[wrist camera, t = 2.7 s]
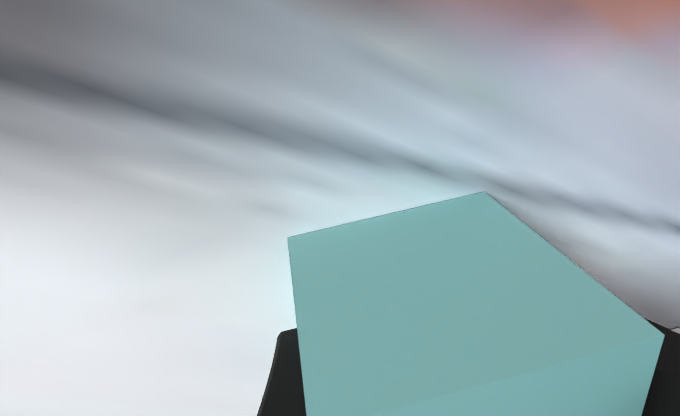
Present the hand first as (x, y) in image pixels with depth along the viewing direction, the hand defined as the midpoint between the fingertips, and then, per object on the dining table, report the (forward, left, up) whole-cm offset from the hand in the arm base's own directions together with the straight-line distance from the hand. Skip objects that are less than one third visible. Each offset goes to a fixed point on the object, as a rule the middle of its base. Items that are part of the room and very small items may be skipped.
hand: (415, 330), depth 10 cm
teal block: (0, 0, -1) cm, 1 cm away
